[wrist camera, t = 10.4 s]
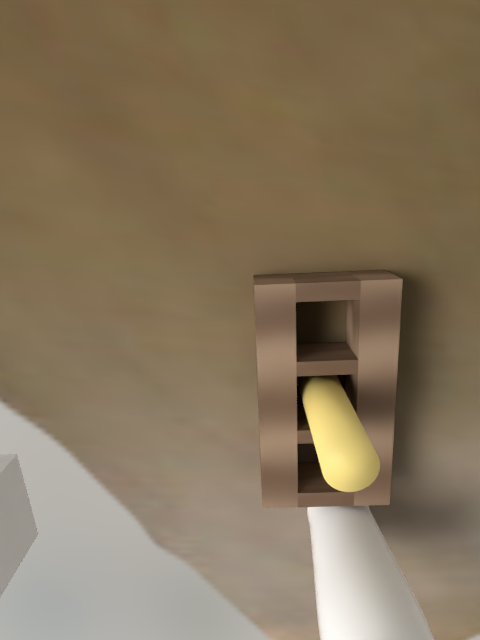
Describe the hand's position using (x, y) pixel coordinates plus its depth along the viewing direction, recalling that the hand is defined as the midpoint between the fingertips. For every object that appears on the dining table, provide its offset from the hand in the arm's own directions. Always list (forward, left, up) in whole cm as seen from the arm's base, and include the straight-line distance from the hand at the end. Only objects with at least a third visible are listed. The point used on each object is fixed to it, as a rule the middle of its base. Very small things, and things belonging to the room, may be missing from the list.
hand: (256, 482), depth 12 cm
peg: (+7, +5, -22) cm, 24 cm away
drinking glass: (+19, +7, -23) cm, 31 cm away
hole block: (+7, +5, -22) cm, 24 cm away
